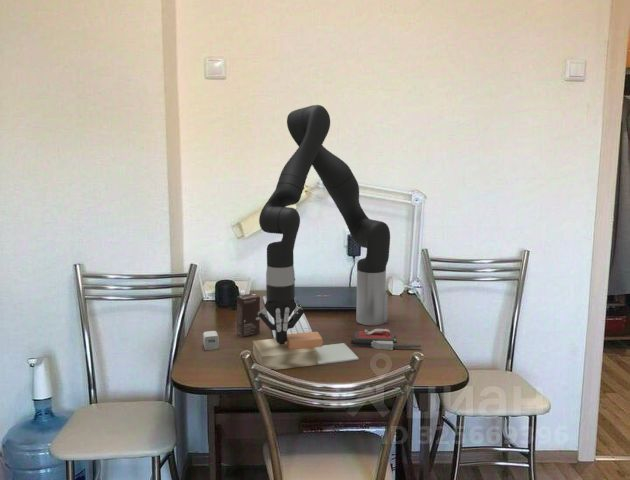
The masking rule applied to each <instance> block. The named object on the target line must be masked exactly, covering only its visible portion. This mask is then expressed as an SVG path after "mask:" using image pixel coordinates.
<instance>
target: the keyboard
mask: <svg viewBox="0 0 630 480" xmlns="http://www.w3.org/2000/svg"><path fill="white" fill-rule="evenodd" d="M262 298H263V303H264V305H265V304H266V301H267V295H266V296H265V295H264V296H262ZM294 310H295V309H294ZM293 314H294V311H293V312H292V314H291V315H290V317H289V319H288V321H289V320H290V318H291V317H292V316H293ZM267 315H268V316H267V319H268V320H269V321H270V322H271V323H272V324H274V318H273V317H272V316H271V315H270V314H269V312H268V311H267ZM306 332H313V330H312V328H311V326H310V323H309V321H308V319H307V317H306V315H305V312H304V313H303V315H302V316H301V317H300V319H299V320H298V322H297V323H296V324H295V326H294V327H293V328H290V329H288V330H287V334H294V333H306ZM271 333H272V336H273V339H276V332H275V330H271Z"/></svg>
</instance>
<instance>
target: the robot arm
mask: <svg viewBox="0 0 630 480" xmlns="http://www.w3.org/2000/svg"><path fill="white" fill-rule="evenodd" d="M286 126H287V129H288V133H289V134H290V137H291V138H292V139H293V140H294V142H295V144H296V145H297V146H298V147H297V149H296V150H295V152H294V153H293V154H292V155H291V157H290V158H289V159H288V160H287V162H286V163H285V164H284V166H283V167H282V170H281V172H280V174H279V177H278V180H277V184H276V187H275V190H274V191H273V193H272V194H271V196H270V197H269V198H268V200H267V202H266V203H265V204H264V206H263V208H262V209H261V211H260V215H259V219H258V224H259V227H260V229H261V231H263V232H265V233H268V234H277V235H278V234H279V235H282V238H281V240H280V241H278V240H277V241H273V242H270V243H268V245H267V246H266V270H265V271H266V272H265V281H266V282H265V283H266V290H265V291H266V296H267V301H266V304H265V303H264V307H263V309H262V310H261V309H260V311H258V313H257V314H258V316H259V317H260V320H261V321H262V322H263V323H264V324H265V325H266V326H267V327H268V329H269V330H271V331H272V330H275V332H276V341H277V343H279V345H281V344H285V342H286V341H287V330H288V329H290V328H293V327H294V326H295V324H296V323H297V322H298V320H299V319H300V317H301V316H302V315H303V313H304V314H305V311H304V309H303V308H302V306H301V307H298V306H297V304H296V302H295V298H296V297H295V296H296V294H295V293H296V291H295V289H296V288H295V284H296V283H295V282H296V277H295V268H294V263H295V262H294V249H295V244H296V241H297V240H296V239H297V236H298V232H299V230H300V229H299V228H300V224H301V216H300V214H299V211H298V210H297V209H296V208H294V207H290V206H294V205H296V204H298V203H299V201H300V200H301V197H302V195H303V191H304V188H305V184H306V181H307V178H308V174H309V172H310V170H311V168H312V167H313V169H314V170H315V173H316V174H317V176H318V177H319V179H320V180H321V183H322V184H323V186H324V187H325V190H326V191H327V193H328V195H329V196H330V197H331V199H332V201H333V202H334V204H335V206H336V208H337V209H338V211H339V213H340V214H341V216H342V218H343V220H344V222H345V225H346V227H347V229H348V231H349V234H350V235H351V238H352V239H353V241H354V243H355V244H356V245H358V247H359V246H360V247H361V248H365V249H366V254H365V255H366V256H365V257H363V258H361V259H359V260H358V261H357V263H356V307H355V308H356V311H355V313H356V315H355V316H356V319H355V321H356V322H357V323H358V324H360V325H364V326H379V325H383V324H385V323H388V305H389V304H388V303H389V300H388V297H389V295H388V293H387V292H386V281H387V280H386V278H387V277H386V276H387V273H386V272H387V265H388V262H389V258H390V248H391V247H390V244H391V230H390V227H389V226H388V224H387V223H386V222H384V221H382V220H381V221H380V220H376V219H371V218H369V217H368V215H366V213H365V212H364V210H363V207H362V206H361V203H360V187H359V186H360V185H359V183H358V181H357V179H356V177H355V175H354V172H352V170H351V168H350V167H349V165H348V164H347V163H346V162H345V161H344V160H342V159H341V158H340V157H339V156H337V155H336V154H334V153H332V152H331V151H329V150H328V149H327V148H326V147H324V142H325V140H326V138H327V136H328V134H329V131H330V128H331V117H330V114H329V112H328V109H326V108H325V106H323V105H320V104H314V105H313V104H312V105H309V106H306V107H302V108H301V107H300V108H298V109H295V110H292V111H290V112H289V114H288V115H287V117H286ZM294 309H295V310H294ZM267 311H268V312H269V314H270V315H271V316H272V317H273V318H274V324H272V323H271V322H270V321H269V318H268V315H267ZM293 311H294V314H293V316H292V317H291V318H290V320H289V321H288V319H289V317H290V315H291V314H292V312H293Z"/></svg>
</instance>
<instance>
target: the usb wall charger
mask: <svg viewBox="0 0 630 480" xmlns="http://www.w3.org/2000/svg"><path fill="white" fill-rule="evenodd" d="M219 339H220V338H219V335H218V332H217V331H216V330H210V331H204V332H203V333H202V341H203V347H204V350H205V351H210V350H218V349H219V348H220V344H219V343H220V341H219Z"/></svg>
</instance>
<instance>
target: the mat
mask: <svg viewBox="0 0 630 480" xmlns="http://www.w3.org/2000/svg"><path fill="white" fill-rule="evenodd" d="M315 348H316V349H317V350H318V365H326V364H334V363H335V364H336V363H342V362H350V361H357V360H360V359H359V356H357V355H356V354H355V352H353V350H352V349H350V347H348V345H346V343H345V342H344V343H343V342H342V343H341V342H340V343H334V344H333V343H331V344H324V345H322V347H315Z"/></svg>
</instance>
